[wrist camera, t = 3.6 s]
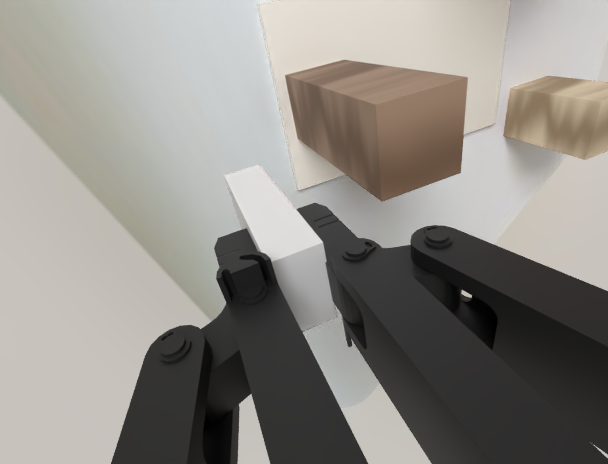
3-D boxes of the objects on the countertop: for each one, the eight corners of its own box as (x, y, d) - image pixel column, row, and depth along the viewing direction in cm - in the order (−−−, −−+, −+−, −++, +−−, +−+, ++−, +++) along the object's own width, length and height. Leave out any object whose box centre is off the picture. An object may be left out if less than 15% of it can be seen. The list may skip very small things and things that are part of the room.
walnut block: (284, 75, 24) (375, 104, 14) (343, 59, 25) (467, 77, 15) (297, 138, 26) (381, 201, 16) (350, 122, 27) (460, 172, 17)
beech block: (510, 87, 31) (601, 102, 25) (548, 75, 32) (646, 86, 26) (503, 135, 34) (585, 159, 27) (539, 123, 35) (626, 143, 28)
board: (257, 4, 21) (258, 4, 21) (512, -51, 25) (517, -52, 25) (296, 188, 29) (298, 190, 28) (491, 123, 33) (494, 124, 32)
